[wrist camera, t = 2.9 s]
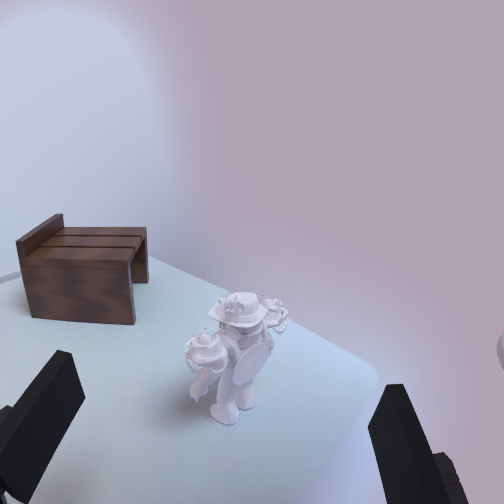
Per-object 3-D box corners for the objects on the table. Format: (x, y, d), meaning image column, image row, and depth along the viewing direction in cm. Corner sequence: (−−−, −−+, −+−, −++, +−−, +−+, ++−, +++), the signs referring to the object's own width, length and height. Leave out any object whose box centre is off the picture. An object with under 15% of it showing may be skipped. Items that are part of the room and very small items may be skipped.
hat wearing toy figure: (213, 450, 20) (211, 317, 16) (178, 422, 23) (165, 290, 19) (285, 392, 27) (305, 269, 23) (251, 372, 29) (261, 254, 25)
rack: (149, 279, 46) (146, 212, 43) (134, 325, 35) (125, 242, 31) (64, 276, 44) (56, 213, 40) (32, 317, 33) (15, 241, 29)
